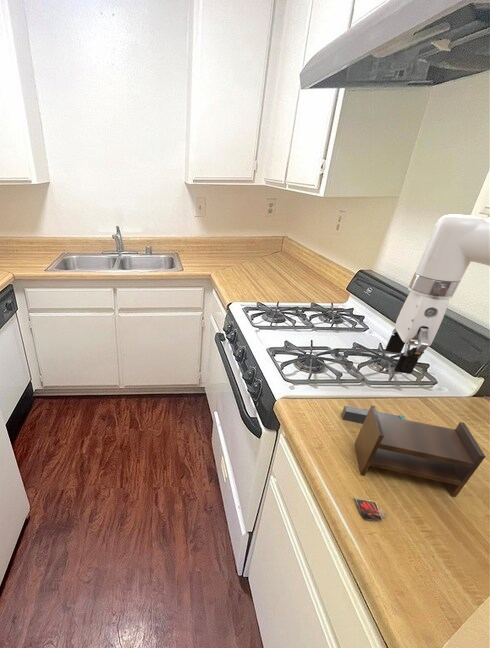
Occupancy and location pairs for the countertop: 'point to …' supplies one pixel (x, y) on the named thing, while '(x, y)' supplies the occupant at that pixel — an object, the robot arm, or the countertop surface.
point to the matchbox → (370, 509)
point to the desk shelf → (418, 449)
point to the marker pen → (362, 414)
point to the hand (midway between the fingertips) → (397, 361)
